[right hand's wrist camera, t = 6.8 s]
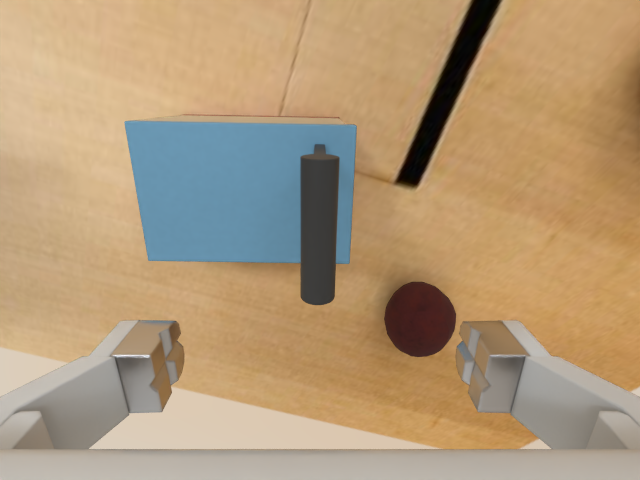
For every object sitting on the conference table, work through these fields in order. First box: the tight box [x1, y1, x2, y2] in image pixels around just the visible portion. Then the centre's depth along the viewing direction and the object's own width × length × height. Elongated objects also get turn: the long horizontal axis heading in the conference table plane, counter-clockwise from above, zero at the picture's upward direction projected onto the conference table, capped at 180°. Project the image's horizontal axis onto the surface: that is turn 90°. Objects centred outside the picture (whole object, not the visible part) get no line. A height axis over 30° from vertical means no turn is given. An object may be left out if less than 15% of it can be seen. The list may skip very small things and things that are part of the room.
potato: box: [384, 282, 456, 357], centre depth 38 cm, size 7×8×7 cm
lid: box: [125, 121, 357, 305], centre depth 22 cm, size 15×10×9 cm, turn 89°
